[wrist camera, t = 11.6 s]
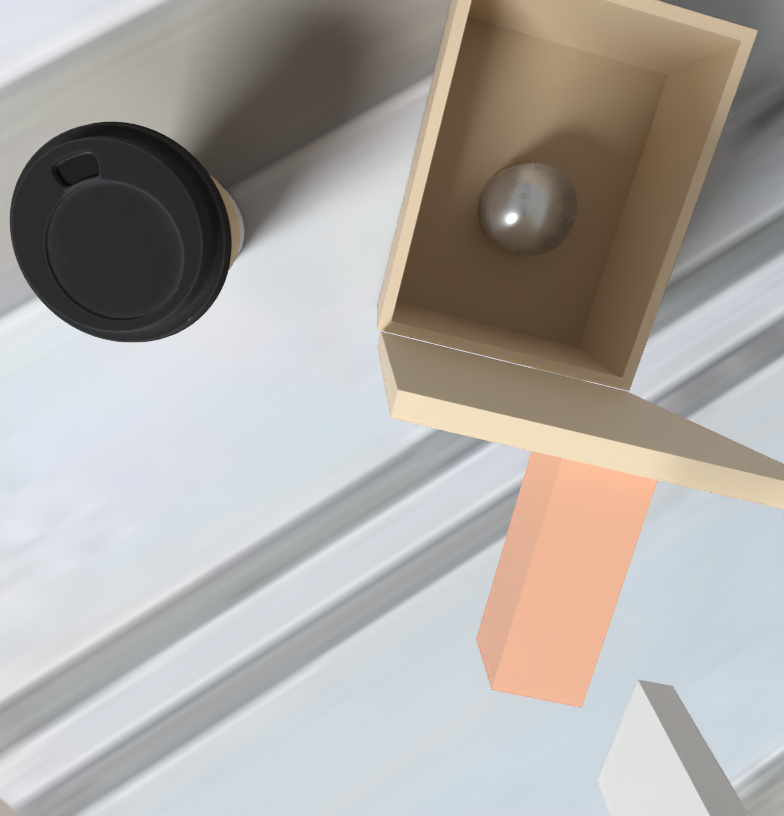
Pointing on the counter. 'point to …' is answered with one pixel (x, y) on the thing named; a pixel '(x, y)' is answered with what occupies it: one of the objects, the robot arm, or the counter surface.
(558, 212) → the metal ball
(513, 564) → the lid flap
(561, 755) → the counter surface
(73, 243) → the coffee cup
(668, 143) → the carton
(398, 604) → the counter surface
